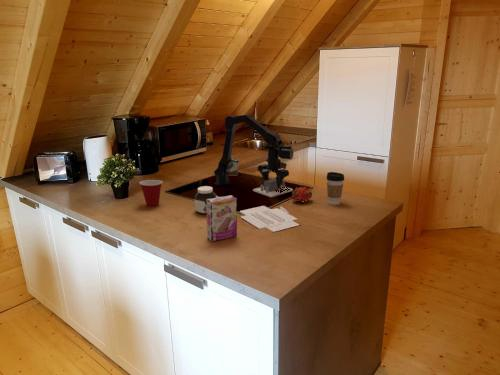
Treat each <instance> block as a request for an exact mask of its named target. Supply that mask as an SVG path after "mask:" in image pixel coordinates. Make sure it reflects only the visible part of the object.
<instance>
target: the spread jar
mask: <svg viewBox="0 0 500 375" xmlns="http://www.w3.org/2000/svg"><path fill="white" fill-rule="evenodd" d="M218 197H219V196H218V195H217V194H216V193H215V192H214V189H213V187H212V186H208V185H204V186H199V187H198V188H197V193H196V194H195V196H194V208H195V211H196V213H197V214H199V215H202V216H207V205H206V199H211V198H218Z"/></svg>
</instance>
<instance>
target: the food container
mask: <svg viewBox="0 0 500 375" xmlns="http://www.w3.org/2000/svg"><path fill="white" fill-rule="evenodd" d="M231 159H232V160H234V162H233V167H232V168H231V169H230V171H229V173H228V175H229V177H230V176H231V177H232V176H235V177H236V176H238V172H239V164H240V160H239V158H238V157H231ZM220 160H221V158H220V159H219V161H220Z"/></svg>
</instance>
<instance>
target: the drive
mask: <svg viewBox="0 0 500 375" xmlns="http://www.w3.org/2000/svg"><path fill="white" fill-rule="evenodd" d="M263 186H264V190H266V187H268V191H269V192H271V191H274V190H277V189H280V188H282V186H283V182H282V183H281V186H280V188H278V186H277V181H276V177H274V178H270V179H268V180H266V181H264V180H263Z"/></svg>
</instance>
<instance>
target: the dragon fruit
mask: <svg viewBox="0 0 500 375" xmlns="http://www.w3.org/2000/svg"><path fill="white" fill-rule="evenodd" d="M291 195H292V196H291V199H293V201H294V202H296V203H303V204H304V203H305V202H306V203H308V202H309V201H310V199H311V198H312V196H313V193H312V191H311V190H310V189H308V188H307V187H306V186H304V187H302V186H299V187H295V188H294V189H293V191H291ZM297 200H298V201H297ZM306 200H307V201H306ZM300 201H305V202H300Z"/></svg>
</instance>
